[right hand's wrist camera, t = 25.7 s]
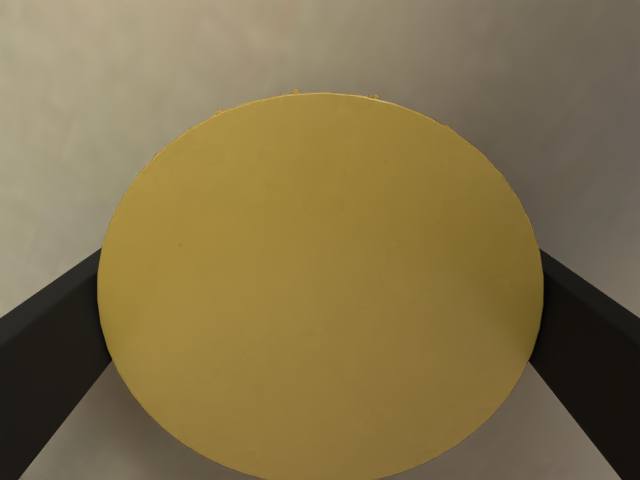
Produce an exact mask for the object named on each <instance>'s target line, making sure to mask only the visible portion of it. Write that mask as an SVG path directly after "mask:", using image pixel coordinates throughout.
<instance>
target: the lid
mask: <svg viewBox="0 0 640 480" xmlns="http://www.w3.org/2000/svg"><path fill="white" fill-rule="evenodd" d="M378 98H379V95H368V97H365V96H360V95H353V94H340V93H328V92H315V93H300V90H293V94H286V95H281V96H276V97H271V98H266V99H261V100H256V101H252V102H249V103H246V104H243V105H240V106H238V107H235V108H232V109H225V110H219V111H217V112H215V113H216V115H215V116H213V117H211V118H209V119H207V120H205V121H204V122H202V123H200V124H198V125H196V126H194V127H192V128H190V129H189V130H188V131H186V132H185V133H184V134H182V135H181V136H179V137H178V138H177V139H175V140H174V141H173V142H171V143H170V144H169V145H167V146H166V147H164V148H163V149H162V150H161V151H160V152H159V153H158V154H156V155H155V156H154V158H153V159H152V160H151V161H150V162H149V163H148V164H147V165H146V166H145V167H144V168H143V169H142V171H141V172H140V173H139V175H138V176H137V177H136V179H135V180H134V181H133V183H132V184H131V186H130V187H129V188H128V190H127V191H126V192H125V194H124V196H123V197H122V199H121V201H120V203H119V205H118V207H117V209H116V211H115V213H114V215H113V217H112V219H111V221H110V224H109V227H108V230H107V233H106V236H105V239H104V242H103V245H102V250H101V256H100V262H99V268H98V277H97V302H98V309H99V316H100V324H101V328H102V331H103V335H104V338H105V342H106V345H107V349H108V351H109V353H110V355H111V358H112V360H113V362H114V364H115V367H116V369H117V371H118V373H119V374H120V376H121V378H122V379H123V381H124V383H125V384H126V386H127V387H128V389H129V391H130V392H131V394H132V395H133V396H134V397H135V399H136V400H137V401H138V402H139V404H140V405H141V406H142V407H143V409H144V410H145V411H146V412H147V413H148V414H149V415H150V416H151V417H152V418H153V419H154V420H155V421H156V422H157V423H158V424H159V425H160V426H161V427H162V428H163V429H165V430H166V431H167V432H168V433H170V434H171V435H172V436H174V437H175V438H176V439H177V440H179V441H180V442H181V443H183V444H184V445H186V446H187V447H189V448H191V449H192V450H194V451H196V452H197V453H199V454H200V455H202V456H204V457H206V458H208V459H210V460H212V461H214V462H216V463H218V464H221V465H223V466H225V467H228V468H230V469H233V470H236V471H239V472H241V473H244V474H247V475H251V476H255V477H259V478H262V479H266V480H375V479H379V478H384V477H388V476H391V475H394V474H397V473H400V472H403V471H406V470H409V469H412V468H414V467H417V466H419V465H421V464H423V463H425V462H428V461H430V460H432V459H434V458H436V457H438V456H439V455H441V454H443V453H444V452H446V451H448V450H450V449H451V448H453V447H455V446H456V445H458V444H459V443H460V442H462V441H463V440H464V439H466V438H467V437H468V436H470V435H471V434H472V433H474V432H475V431H476V430H477V429H478V428H479V427H480V426H481V425H482V424H483V423H485V422H486V421H487V420H488V419H489V418H490V417H491V416H492V415H493V414H494V413H495V411H496V410H497V409H498V408H499V407H500V405H501V404H502V403H503V402H504V401H505V399H506V398H507V397H508V396H509V394H510V393H511V391H512V390H513V388H514V386H515V385H516V383H517V382H518V380H519V379H520V377H521V375H522V373H523V371H524V369H525V367H526V365H527V363H528V361H529V358H530V356H531V354H532V351H533V348H534V345H535V342H536V339H537V335H538V332H539V329H540V322H541V316H542V310H543V292H544V277H543V270H542V264H541V257H540V250H539V247H538V244H537V241H536V238H535V234H534V231H533V228H532V225H531V222H530V220H529V218H528V216H527V214H526V212H525V210H524V208H523V206H522V204H521V202H520V200H519V198H518V197H517V195H516V194H515V192H514V191H513V189H512V188H511V187H510V185H509V184H508V182H507V181H506V180H505V178H504V177H503V175H502V174H501V173H500V172H499V171H498V170H497V169H496V168H495V166H494V165H493V164H492V163H491V162H490V161H489V160H488V159H487V158H486V157H485V156H484V155H483V154H482V153H481V152H480V151H479V150H478V149H476V148H475V147H474V146H472V145H471V144H470V143H469V142H467V141H466V140H465V139H463V138H462V137H461V136H459V135H458V134H457V133H455V132H454V131H453V130H451V127H450V126H448V125H444V124H440V123H438V122H436V121H435V120H433V119H431V118H429V117H427V116H426V115H424V114H421V113H418V112H416V111H413V110H410V109H408V108H405V107H402V106H400V105H397V104H394V103H392V102H387V101H383V100H378Z"/></svg>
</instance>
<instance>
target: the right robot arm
mask: <svg viewBox="0 0 640 480" xmlns="http://www.w3.org/2000/svg"><path fill="white" fill-rule="evenodd" d="M101 250H102V248H100V249H99V250H98V251H96V252H95V253H93V254H92V255H90V256H89V257H88V258H86V259H85V260H83V261H82V262H80V263H79V264H78V265H76V266H75V267H73V268H72V269H70V270H69V271H67V272H66V273H65V274H63V275H62V276H60V277H59V278H57V279H56V280H55V281H53V282H52V283H50V284H49V285H47V286H46V287H45V288H43V289H42V290H40V291H39V292H37V293H36V294H35V295H33V296H32V297H30V298H29V299H27V300H26V301H24V302H23V303H22V304H20V305H19V306H17V307H16V308H14V309H13V310H12V311H10V312H9V313H7V314H6V315H4V316H3V317H2V318H0V480H18V479H19V478H20V477H21V475H22V474H23V473H24V472H25V470H26V469H27V468H28V466H29V465H30V464H31V463H32V461H33V460H34V459H35V458H36V456H37V455H38V454H39V452H40V451H41V450H42V449H43V447H44V446H45V445H46V444H47V442H48V441H49V440H50V438H51V437H52V436H53V435H54V433H55V432H56V431H57V430H58V428H59V427H60V426H61V424H62V423H63V422H64V421H65V419H66V418H67V417H68V416H69V414H70V413H71V412H72V410H73V409H74V408H75V407H76V405H77V404H78V403H79V402H80V400H81V399H82V398H83V396H84V395H85V394H86V393H87V391H88V390H89V389H90V388H91V386H92V385H93V384H94V382H95V381H96V380H97V379H98V377H99V376H100V375H101V374H102V372H103V371H104V370H105V368H106V367H107V366H108V365H109V363H110V362H111V361H112V358H111V355H110V353H109V351H108V349H107V345H106V342H105V338H104V335H103V331H102V328H101V324H100V316H99V309H98V302H97V277H98V268H99V262H100V256H101ZM539 250H540V257H541V264H542V270H543V277H544V292H543V310H542V316H541V322H540V329H539V332H538V335H537V339H536V342H535V345H534V348H533V351H532V354H531V356H530V358H529V362H530V363H531V365H532V366H533V367H534V368H535V370H536V371H537V372H538V373H539V375H540V376H541V377H542V379H543V380H544V381H545V382H546V384H547V385H548V386H549V387H550V389H551V390H552V391H553V393H554V394H555V395H556V396H557V398H558V399H559V400H560V402H561V403H562V404H563V405H564V407H565V408H566V409H567V410H568V412H569V413H570V414H571V416H572V417H573V418H574V419H575V421H576V422H577V423H578V424H579V426H580V427H581V428H582V430H583V431H584V432H585V433H586V435H587V436H588V437H589V438H590V440H591V441H592V442H593V444H594V445H595V446H596V447H597V449H598V450H599V451H600V452H601V454H602V455H603V456H604V458H605V459H606V460H607V461H608V463H609V464H610V465H611V466H612V468H613V469H614V470H615V472H616V473H617V474H618V475H619V477H620V478H621V479H622V480H640V318H638V317H637V316H636V315H634V314H633V313H631V312H630V311H628V310H627V309H626V308H624V307H623V306H621V305H620V304H618V303H617V302H616V301H614V300H613V299H611V298H610V297H608V296H607V295H606V294H604V293H603V292H601V291H600V290H598V289H597V288H595V287H594V286H593V285H591V284H590V283H588V282H587V281H585V280H584V279H583V278H581V277H580V276H578V275H577V274H575V273H574V272H573V271H571V270H570V269H568V268H567V267H565V266H564V265H563V264H561V263H560V262H558V261H557V260H555V259H554V258H552V257H551V256H550V255H548V254H547V253H545V252H544V251H542V250H541V249H540V248H539Z"/></svg>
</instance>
